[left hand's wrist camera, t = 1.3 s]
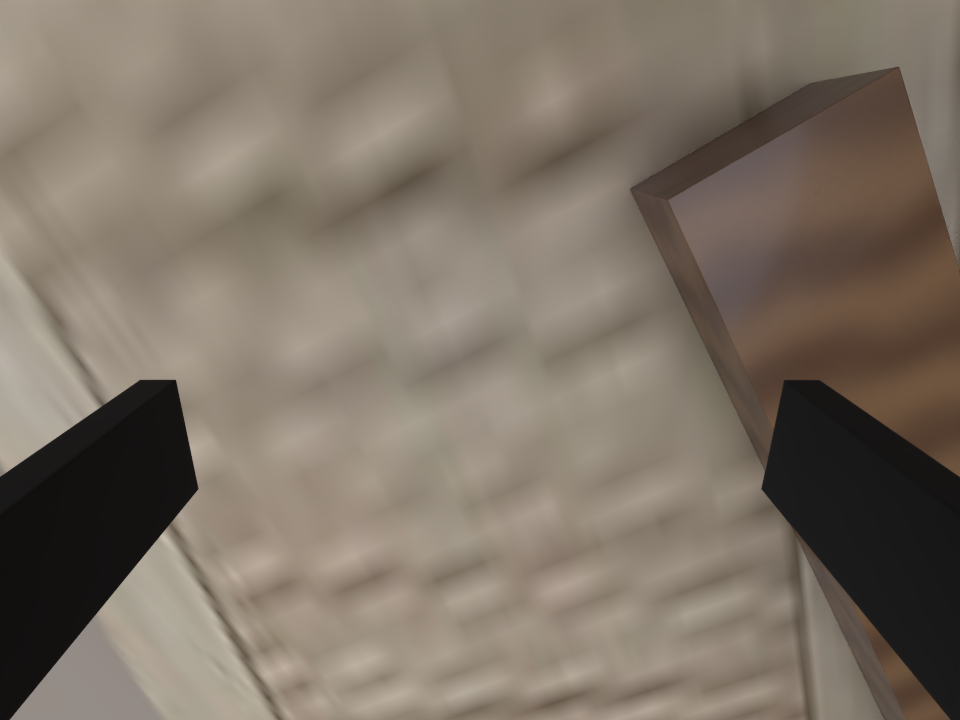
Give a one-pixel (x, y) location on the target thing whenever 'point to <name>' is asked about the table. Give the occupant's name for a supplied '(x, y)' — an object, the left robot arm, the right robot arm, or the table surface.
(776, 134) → the narrow beam
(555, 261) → the table surface
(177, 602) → the table surface
